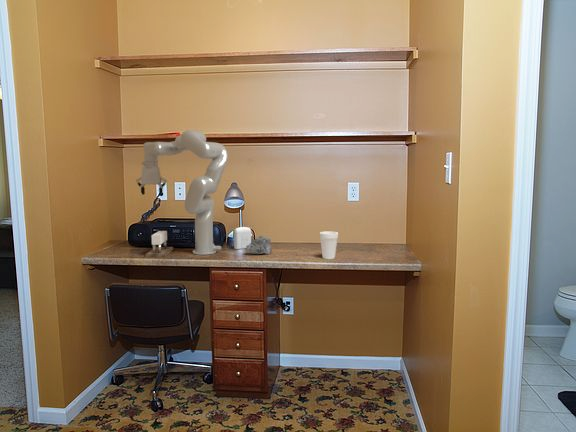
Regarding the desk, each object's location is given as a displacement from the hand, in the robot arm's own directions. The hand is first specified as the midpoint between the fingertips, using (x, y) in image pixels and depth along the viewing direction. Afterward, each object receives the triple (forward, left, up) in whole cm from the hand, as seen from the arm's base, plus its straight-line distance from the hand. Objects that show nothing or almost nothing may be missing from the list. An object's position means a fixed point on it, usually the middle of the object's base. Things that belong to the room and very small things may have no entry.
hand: (151, 194), depth 256 cm
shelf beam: (-8, +17, -25) cm, 31 cm away
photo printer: (-52, +5, -31) cm, 60 cm away
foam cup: (-98, +32, -31) cm, 107 cm away
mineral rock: (-62, +21, -31) cm, 72 cm away
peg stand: (-8, +17, -31) cm, 36 cm away
